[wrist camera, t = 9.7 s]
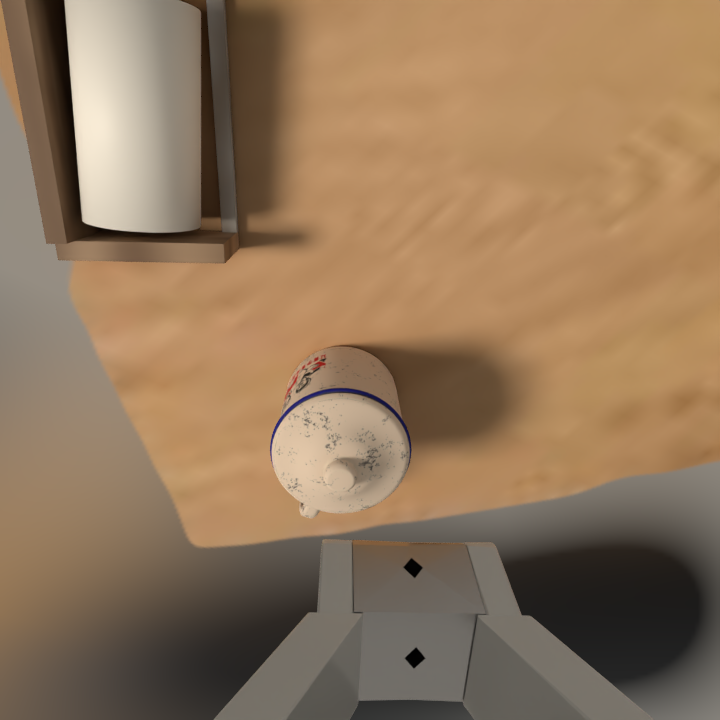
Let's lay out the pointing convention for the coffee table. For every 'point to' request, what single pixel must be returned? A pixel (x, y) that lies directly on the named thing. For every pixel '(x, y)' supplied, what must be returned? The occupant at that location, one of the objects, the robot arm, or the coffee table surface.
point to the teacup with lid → (340, 433)
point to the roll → (137, 112)
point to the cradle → (58, 146)
